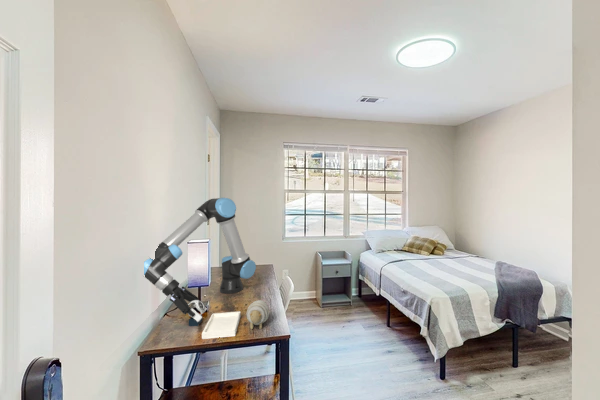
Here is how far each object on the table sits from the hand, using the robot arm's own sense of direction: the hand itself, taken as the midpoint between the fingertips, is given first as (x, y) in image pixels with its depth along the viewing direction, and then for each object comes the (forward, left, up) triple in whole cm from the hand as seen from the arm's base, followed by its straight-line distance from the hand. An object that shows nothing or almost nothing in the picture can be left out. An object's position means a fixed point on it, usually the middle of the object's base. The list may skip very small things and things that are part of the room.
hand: (202, 315), depth 124 cm
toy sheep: (+7, +28, -4) cm, 29 cm away
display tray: (+6, +11, -4) cm, 13 cm away
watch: (0, -3, -4) cm, 5 cm away
